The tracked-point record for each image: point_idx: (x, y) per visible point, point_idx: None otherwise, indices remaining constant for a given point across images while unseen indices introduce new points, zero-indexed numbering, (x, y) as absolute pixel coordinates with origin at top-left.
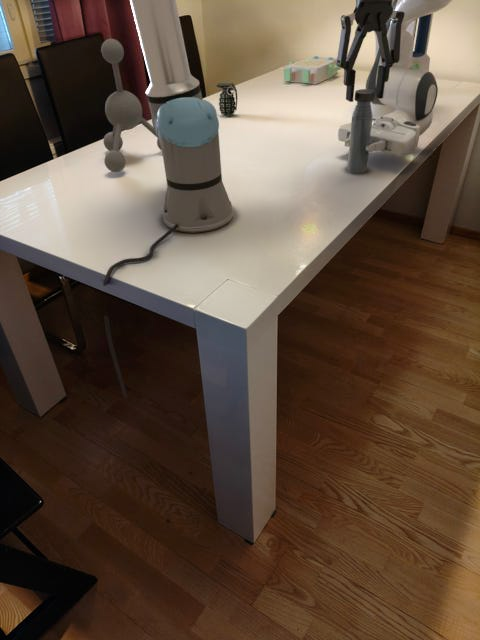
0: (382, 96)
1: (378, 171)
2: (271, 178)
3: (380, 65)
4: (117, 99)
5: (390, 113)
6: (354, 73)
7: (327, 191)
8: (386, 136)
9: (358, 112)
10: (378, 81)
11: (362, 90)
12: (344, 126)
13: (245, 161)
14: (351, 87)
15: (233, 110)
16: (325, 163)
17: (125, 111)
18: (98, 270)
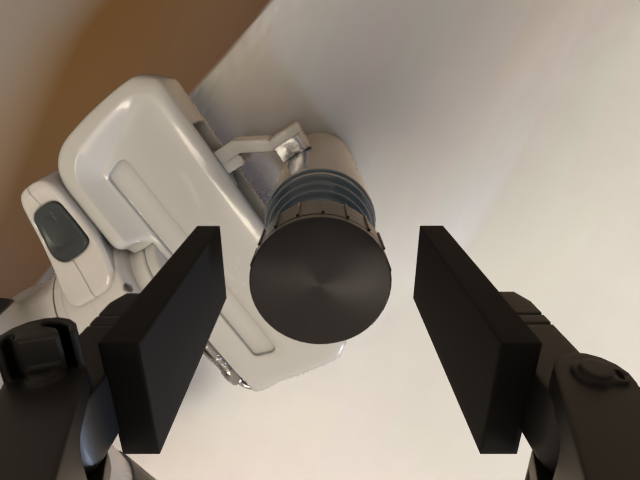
0: (198, 230)
1: (252, 131)
2: (617, 188)
3: (136, 452)
4: None
5: None
6: (504, 324)
7: (500, 6)
8: (202, 171)
9: (361, 208)
10: (197, 328)
11: (325, 314)
12: (324, 346)
13: (618, 345)
14: (474, 263)
15: None
16: (394, 255)
17: None
18: None
